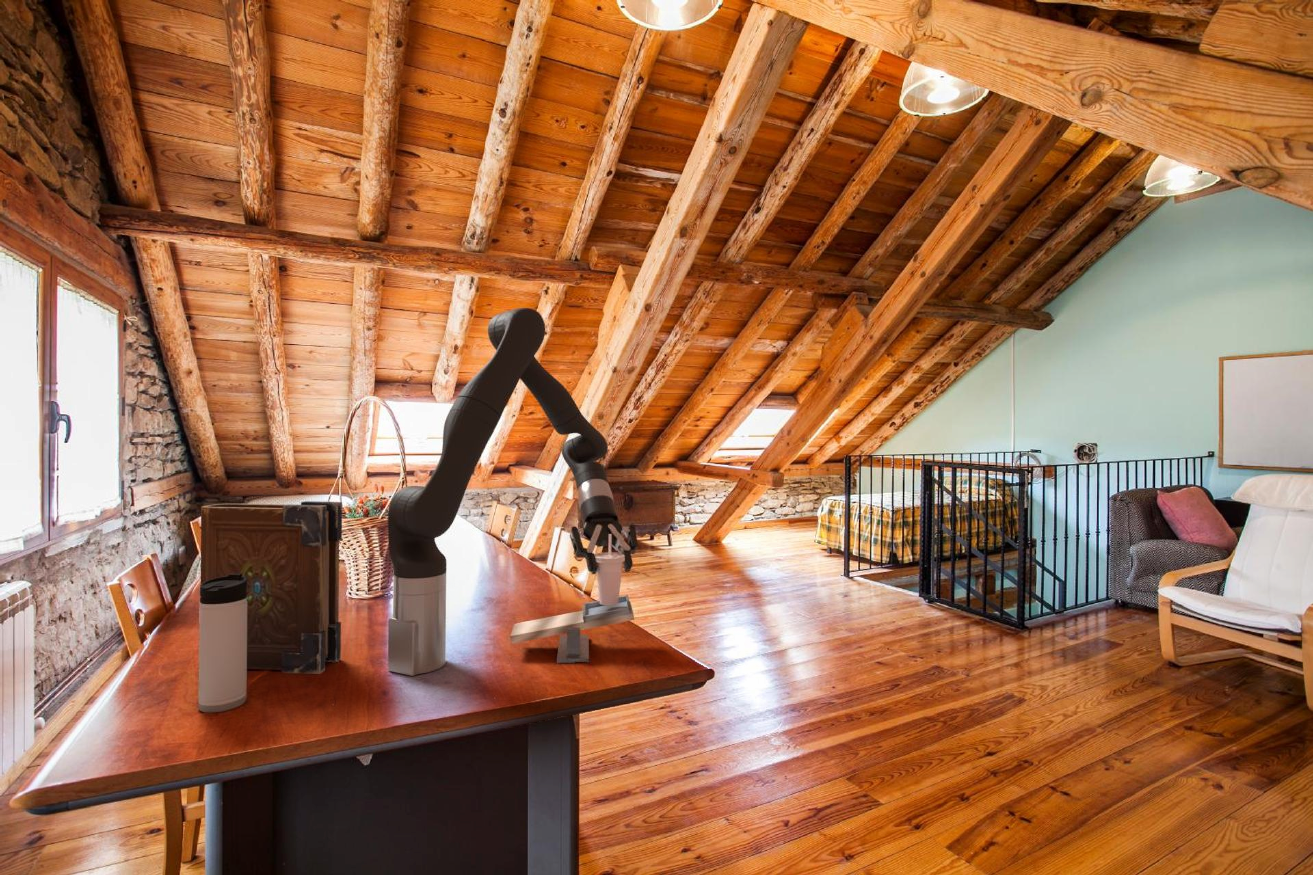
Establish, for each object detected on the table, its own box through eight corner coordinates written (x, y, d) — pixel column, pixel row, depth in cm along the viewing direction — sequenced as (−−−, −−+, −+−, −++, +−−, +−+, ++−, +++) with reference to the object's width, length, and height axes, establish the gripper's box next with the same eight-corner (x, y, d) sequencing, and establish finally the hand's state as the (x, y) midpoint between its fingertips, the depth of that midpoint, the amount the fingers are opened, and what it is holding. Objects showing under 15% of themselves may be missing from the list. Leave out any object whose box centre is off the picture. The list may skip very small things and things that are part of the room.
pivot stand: (556, 663, 120) (557, 631, 120) (559, 639, 134) (560, 610, 134) (588, 662, 121) (589, 630, 121) (588, 638, 135) (588, 610, 134)
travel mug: (256, 695, 104) (257, 573, 104) (230, 713, 97) (231, 582, 97) (217, 695, 104) (218, 573, 103) (188, 713, 97) (189, 582, 97)
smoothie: (595, 608, 124) (596, 537, 124) (590, 599, 130) (591, 531, 130) (627, 606, 126) (628, 535, 126) (621, 597, 132) (621, 530, 132)
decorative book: (340, 659, 120) (342, 501, 120) (319, 673, 113) (321, 506, 113) (220, 656, 121) (221, 499, 121) (191, 670, 114) (192, 503, 114)
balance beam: (510, 645, 121) (508, 631, 121) (516, 629, 131) (514, 616, 131) (634, 620, 124) (632, 607, 124) (631, 607, 133) (629, 594, 133)
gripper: (567, 494, 132) (579, 562, 121) (632, 493, 137) (650, 558, 126) (561, 516, 137) (573, 583, 126) (624, 514, 142) (641, 578, 131)
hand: (611, 570), depth 127 cm, fingers closed on smoothie, 6 cm apart
